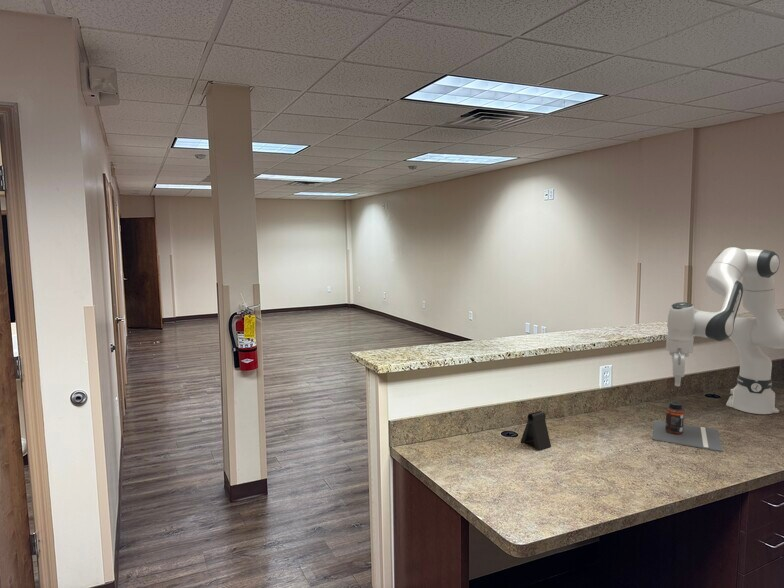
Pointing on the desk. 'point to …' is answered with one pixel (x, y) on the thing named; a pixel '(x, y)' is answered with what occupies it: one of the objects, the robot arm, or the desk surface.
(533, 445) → the phone stand
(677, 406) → the supplement bottle
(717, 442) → the mat
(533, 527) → the desk surface
